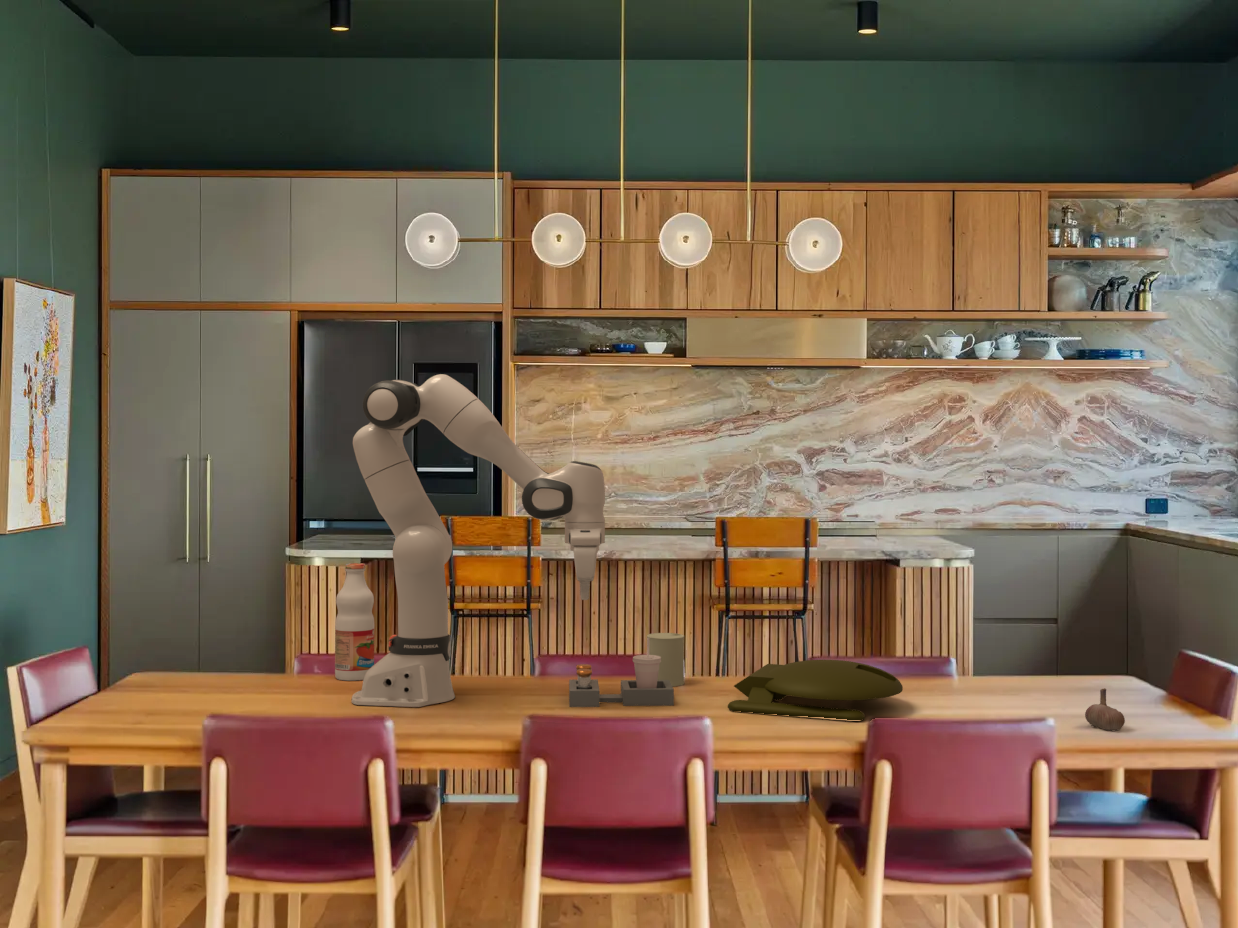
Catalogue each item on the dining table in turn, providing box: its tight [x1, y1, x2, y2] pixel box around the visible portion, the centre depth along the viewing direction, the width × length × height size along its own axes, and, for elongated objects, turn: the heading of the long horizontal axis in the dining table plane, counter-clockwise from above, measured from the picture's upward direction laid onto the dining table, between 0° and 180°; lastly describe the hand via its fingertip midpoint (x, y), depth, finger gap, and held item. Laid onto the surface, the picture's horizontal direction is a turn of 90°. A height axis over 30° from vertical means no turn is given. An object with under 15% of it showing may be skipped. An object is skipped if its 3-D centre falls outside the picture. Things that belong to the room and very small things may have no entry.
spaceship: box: [727, 659, 904, 721], centre depth 242 cm, size 35×31×10 cm
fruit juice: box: [334, 562, 375, 682], centre depth 271 cm, size 9×9×28 cm
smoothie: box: [632, 637, 661, 688], centre depth 245 cm, size 6×6×14 cm
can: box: [646, 632, 685, 688], centre depth 265 cm, size 9×9×12 cm
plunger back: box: [575, 663, 592, 671], centre depth 247 cm, size 3×3×6 cm
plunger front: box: [576, 668, 593, 689], centre depth 241 cm, size 3×3×6 cm
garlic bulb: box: [1084, 688, 1126, 731], centre depth 220 cm, size 8×7×8 cm
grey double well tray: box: [568, 678, 675, 708], centre depth 245 cm, size 23×13×4 cm, turn 93°
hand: (584, 598), depth 242 cm, fingers open, 4 cm apart
